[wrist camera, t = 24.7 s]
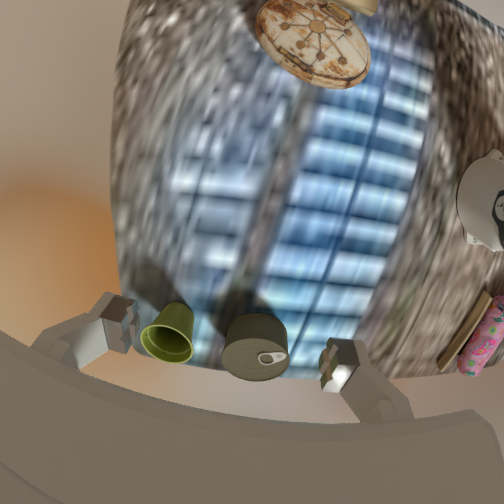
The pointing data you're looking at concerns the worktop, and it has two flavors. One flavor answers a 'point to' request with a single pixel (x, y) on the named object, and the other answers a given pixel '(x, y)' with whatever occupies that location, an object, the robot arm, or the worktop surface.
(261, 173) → the worktop surface
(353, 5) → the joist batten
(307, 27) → the trinket box
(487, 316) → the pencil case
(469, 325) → the pencil case cradle
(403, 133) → the worktop surface
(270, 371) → the can
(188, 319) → the plant pot
